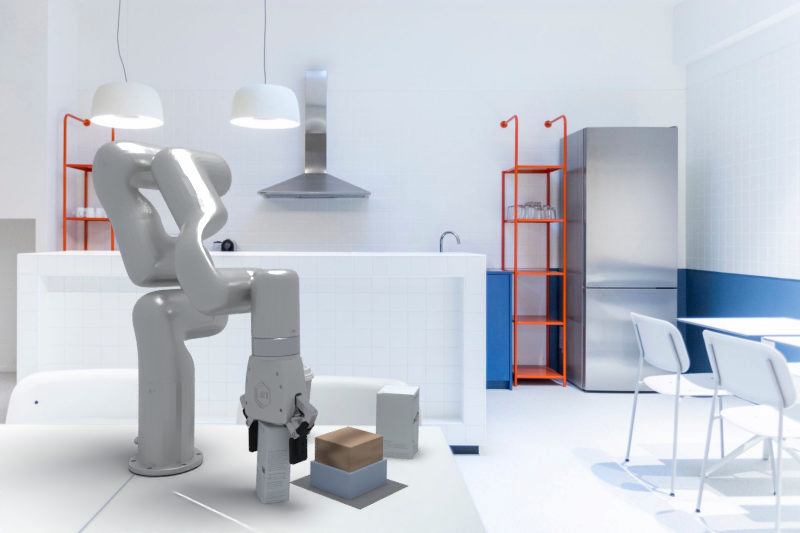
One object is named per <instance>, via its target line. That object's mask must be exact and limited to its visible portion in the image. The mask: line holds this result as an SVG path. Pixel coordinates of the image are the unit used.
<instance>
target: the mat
mask: <svg viewBox="0 0 800 533" xmlns="http://www.w3.org/2000/svg"><path fill="white" fill-rule="evenodd" d="M290 484H292V485H294V486H296V487H298V488H301V489H305V490H306V491H310V492H313V493H315V494H318V495H321V496H323V497H326V498H328V499H331V500H334V501H336V502H339V503H342V504H344V505H346V506H350V507H351V508H352V507H353V508H355V509H357V510H362V509H364V508H367V507H368V506H371V505H372V504H375V503H377V502H379V501H380V500H383V499H384V498H387V497H389V496H391V495H393V494H395V493H397V492H399V491H402V490H403V489H405V488H408V487H409V485H408V484H405V483H401V482H398V481H395V480H392V479H389V478H387V483H386V484H383V485H381V486H379V487H377V488H375V489H373V490H370V491H368V492H366V493H364V494H362V495H359V496H357V497H355V498H353V499H351V500H349V499H346V498H343V497H341V496H338V495H335V494H333V493H330V492H327V491H325V490H322V489H319V488H316V487H314V486H311V485H310V474H308V475H304V476H302V477H299V478H297V479H294V480H292V481H291V480H290Z"/></svg>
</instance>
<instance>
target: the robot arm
mask: <svg viewBox="0 0 800 533" xmlns="http://www.w3.org/2000/svg"><path fill="white" fill-rule="evenodd" d="M91 167H92V168H91V177H92V178H91V179H92V183H93V188H94V191H95V194H96V196H97V199H98V202H99V203H100V205H101V207H102V209H103V211H104V213H105V214H106V216H107V218H108V220H109V222H110V224H111V227H112V230H113V234H114V237H115V240H116V244H117V246H118V251H119V253H120V256H121V259H122V262H123V265H124V268H125V271H126V274H127V277H128V278H129V280H130V282H131V283H132V284H134V285H135V286H137V287H141V288H149V289H150V288H154V289H155V288H169V289H159V290H153V291H150V292H147V293H146V294H143V295H142V296H141V297H139V299H137V301H136V302H135V303H134V306H133V308H132V313H131V316H132V327H133V331H134V337H135V340H136V341H135V342H136V348H137V349H136V350H137V361H138V362H137V364H138V366H137V367H138V368H137V370H138V372H137V373H138V374H137V375H138V377H137V378H138V379H137V380H138V391H137V392H138V394H137V395H138V397H137V398H138V403H137V406H138V408H137V409H138V412H137V414H138V415H137V416H138V418H137V419H138V420H137V423H138V426H137V428H138V429H137V430H138V432H137V435H138V436H136V437H135V438H134V439H133V444H135V445H137V450H138V451H137V453H136V454H135V455H133V456H132V457H131V458H129V460H128V469H129V470H130V471H131V473H134V474H138V475H141V476H150V477H151V476H152V477H155V476H158V477H159V476H170V475H175V474H176V475H177V474H181V473H184V472H187V471H191V470H192V469H194V468H197V467H199V466H200V465H201V464H202V462H203V461H204V453H203V452H202V450H200V449H198V448H195V425H196V424H195V417H196V416H195V415H196V414H195V412H196V411H195V409H196V407H195V406H196V405H195V404H196V403H195V402H196V401H195V400H196V396H195V395H196V390H195V389H196V388H195V387H196V379H195V378H196V377H195V376H196V374H195V372H196V368H195V361H194V359H193V357H192V355H191V352H190V351H189V349H188V348H187V345H186V344H185V341H189V340H196V339H202V338H209V337H213V336H216V335H219V334H220V333H221V332H223V331H224V329H225V328H226V326H227V325H228V321H229V315H230V316H231V315H237V314H238V315H241V314H243V315H244V314H250V329H251V330H250V338H251V343H250V344H251V355H249V356H248V362H247V366H246V372H245V373H246V374H245V383H244V384H245V386H244V393H243V394H241V395H240V397H239V401H240V404H241V408H242V415H243V416H244V418H245V419H246V420H245V424H246V427H247V431H248V432H247V434H248V451H249V452H250V453H256V452H257V447H258V420H259V421H263V422H267V423H271V424H275V425H284V424H286V425H287V427H288V429H289V431H290V433H291V435H292V438H289V462H290V464H291V465H293V466H294V465H296V464H300V463H303V462H305V461H308V436H309V435H310V434H311V431H312V430H313V428H314V426H315V422H316V420H317V417H318V415H319V411H318V410H317V408H316V407H315V406H313V404H312V403H310V401H309V402H308V401H307V400H306V383H305V374H304V368H303V358H302V356H301V328H300V327H301V322H300V321H301V318H300V317H301V314H300V312H301V311H300V308H301V307H300V304H301V303H300V277H299V275H298V273H297V271H295V270H294V269H291V268H290V269H289V268H265V269H263V268H259V267H215V264H214V260H213V258H212V255H211V254H210V252H209V250H208V248H207V247H206V246H205V245H204V243H203V241H205V240H207V239H209V238H211V237H212V236H215V235H216V234H217V233H219V232H220V231H221V230H222V229H223V228H224V226H225V225H226V224H227V222H228V218H229V213H228V210H227V207H226V206H225V204H224V203H223V200H222V199H221V198H222V197H223V196H225V195H226V194H227V193H228V192H229V190H230V188H231V185H232V180H233V176H232V171H231V168H230V166H229V164H228V163H227V161H226V160H225V159H224V158H223V157H222V156H220V155H219V154H217V153H214V152H209V151H204V150H199V149H194V148H193V149H192V148H188V147H183V146H171V147H169V146H164V145H158V144H152V143H147V142H142V141H141V142H140V141H133V140H123V139H122V140H113V141H112V140H111V141H109V142H106V143H103V144H102V145H101V146H100V147H98V149H97V151H96V152H95V154H94V157H93V161H92V166H91ZM139 189H146V190H153V191H155V190H156V191H159V193H160V194H161V197H162V198H163V201H164V202H165V204H166V206H167V208H168V211H169V212H170V214H171V216H172V218H173V220H174V221H175V224H176V225H177V227H178V230H179V233H178V236H171V235H169V234H168V233H167V231H166V230H165V228H164V225H163V222H162V218H161V216H160V214H159V212H158V210H157V209H156V207H155V206H154V204H152V202H151V201H150V200H149V199H148V198H147V197H146V196H145V195H143V193H142V192H140V190H139ZM171 287H174V288H171ZM175 287H179V288H175ZM170 288H171V289H170ZM296 422H298V424H299V427H298V428H297V427H296V425H295V423H296Z"/></svg>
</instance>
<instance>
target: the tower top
mask: <svg viewBox="0 0 800 533" xmlns="http://www.w3.org/2000/svg"><path fill="white" fill-rule="evenodd" d="M383 458H384V457H383V436H382V435H378V434H376V432H375V433H374V432H372V431H371V432H370V431H367V430H362V429H359V428H356V427H352V426H345V427H342V428H340V429H337V430H334V431H330V432H329V431H328V433H327V432H326V433H324V434H321V435H320V434H319V435H317V436H315V437H314V460H315V461H316V462H319V463H322V464H325V465H328V466H331V467H334V468H337V469H340V470H343V471H346V472H349V473H351V472H353V471H356V470H358V469H361V468H363V467H366V466H368V465H371V464H373V463H376V462H378V461H380V460H383Z"/></svg>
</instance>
